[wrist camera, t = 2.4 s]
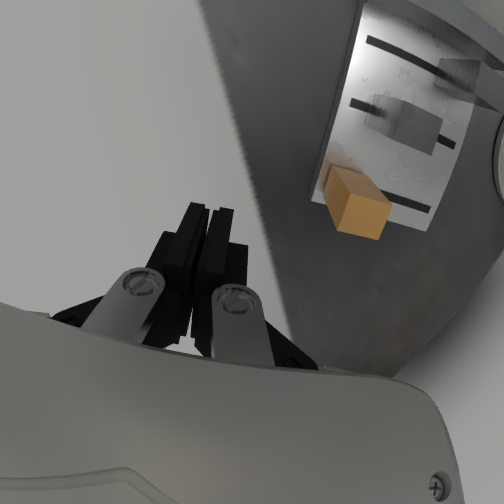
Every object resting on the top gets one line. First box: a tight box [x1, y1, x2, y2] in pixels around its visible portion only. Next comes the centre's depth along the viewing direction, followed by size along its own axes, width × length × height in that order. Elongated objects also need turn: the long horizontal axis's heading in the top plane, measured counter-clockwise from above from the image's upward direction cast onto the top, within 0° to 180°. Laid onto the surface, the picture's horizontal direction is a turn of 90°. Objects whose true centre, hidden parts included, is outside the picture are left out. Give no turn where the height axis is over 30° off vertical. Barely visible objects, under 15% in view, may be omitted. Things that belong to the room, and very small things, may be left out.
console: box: [308, 0, 504, 231], centre depth 16 cm, size 11×18×7 cm, turn 169°
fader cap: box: [323, 166, 393, 240], centre depth 18 cm, size 3×2×5 cm
